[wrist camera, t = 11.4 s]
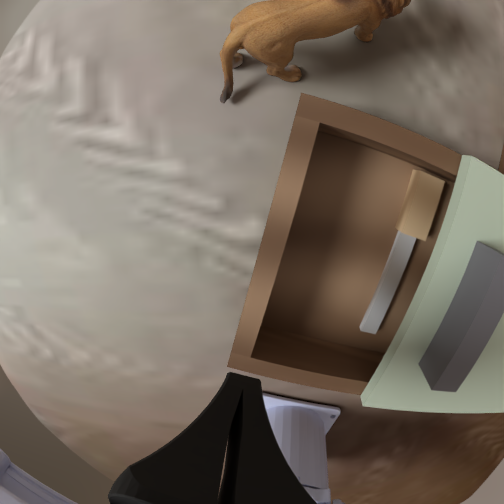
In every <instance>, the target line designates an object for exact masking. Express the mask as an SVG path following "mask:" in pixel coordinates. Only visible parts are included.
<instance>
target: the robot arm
mask: <svg viewBox="0 0 504 504" xmlns="http://www.w3.org/2000/svg"><path fill="white" fill-rule="evenodd" d="M340 413H341V411H340V408H338V407H333V406H327V405H321V404H315V403H309V402H304V401H299V400H294V399H289V398H284V397H279V396H275V395H270V394H266V393H262V387H261V381H260V380H259V379H256V378H252V377H248V376H244V375H240V374H236V373H232V372H229V373H227V376H226V378H225V380H224V382H223V384H222V386H221V388H220V389H219V391H218V392H217V394H216V395H215V397H214V398H213V399H212V401H211V402H210V403H209V405H208V406H207V407H206V408H205V409H204V410H203V412H202V413H201V414H200V415H199V416H198V417H197V418H196V419H195V420H194V421H193V422H192V423H191V424H190V425H189V426H188V427H187V428H186V429H185V430H184V431H182V432H181V433H180V434H179V435H178V436H176V437H175V438H174V439H173V440H171V441H170V442H169V443H167V444H166V445H164V446H163V447H161V448H160V449H158V450H157V451H155V452H154V453H152V454H151V455H149V456H147V457H145V458H143V459H142V460H140V461H138V462H136V463H134V464H132V465H130V466H129V467H128V468H127V469H126V470H125V471H124V472H123V473H122V474H121V475H120V476H119V477H118V478H117V479H116V481H115V482H114V484H113V486H112V488H111V490H110V492H109V494H108V498H109V501H110V504H331V497H330V489H329V487H328V469H327V453H326V439H325V435H326V434H327V432H328V431H329V430H330V428H331V427H332V425H333V424H334V422H335V421H336V419H337V418H338V416H339V415H340ZM228 435H229V436H228ZM227 441H228V444H227ZM226 446H227V453H226V461H225V469H224V475H223V479H222V484H221V488H220V492H219V487H220V481H221V475H222V469H223V463H224V457H225V452H226ZM218 494H219V496H218ZM0 504H77V503H75V502H74V501H72V500H70V499H68V498H66V497H64V496H62V495H61V494H59V493H57V492H56V491H54V490H52V489H51V488H49V487H47V486H46V485H44V484H43V483H41V482H39V481H38V480H36V479H35V478H33V477H32V476H30V475H28V474H27V473H26V472H24V471H23V470H22V469H20V468H19V467H17V466H16V465H15V464H13V463H12V462H11V461H10V459H9V457H8V456H7V455H6V454H5V453H4V452H3V451H2V450H1V449H0ZM333 504H345V503H344V502H342V501H341V500H340V499H334V500H333Z"/></svg>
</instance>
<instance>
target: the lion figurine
mask: <svg viewBox="0 0 504 504" xmlns="http://www.w3.org/2000/svg"><path fill="white" fill-rule="evenodd" d="M410 2H411V0H270V1H262V2H257V3H254V4H251V5H249V6H247V7H246V8H245V9H243V10H242V11H241V12H239V13H238V14H237V15H236V16H235V17H234V18H233V19H232V22H231V25H230V28H231V32H230V34H229V35H228V37H227V38H226V41H225V43H224V45H223V48H222V50H221V51H220V57H221V61H222V68H223V72H224V78H225V86H224V89H223V91H222V94H221V97H220V101H221V102H222V103H225V102H226V100H227V99H229V98H230V96H231V94H232V91H233V72H232V69H233V68H235V67H238V66H239V65H240V64H241V63H242V62H243V56H242V54H240V53H237V51H238V50H239V49H244V48H245V49H246V50H247V52H248V53H249V54H250V55H252V56H253V57H254V58H256V59H257V60H259V61H261V62H262V63H264V64H266V65H267V66H268V68H267V73H268V74H269V75H272V76H276V77H279V78H281V79H283V80H285V81H288V82H295V81H298V80H300V78H301V75H302V74H301V71H300V69H299V68H298V67H297V66H296V65H289V66H287V65H288V63H289V62H290V61H291V60H292V58H293V50H294V46H295V43H297V42H298V41H302V40H309V39H317V38H325V37H329V36H332V35H335V34H338V33H340V32H342V31H344V30H346V29H349V28H352V27H354V26H356V25H357V27H356V29H355V31H354V34H355V35H356V37H357V38H358V39H359V40H362V41H364V42H369V41H371V40H372V37H373V34H372V31H374V30H375V29H377V28H378V27H379V26H380V23H381V20H382V19H384V18H385V19H388V18H390V17H393V16H395V15H397V14H399V13H401V12H402V10H403V8H404V7H406V6H408V5H409V4H410Z"/></svg>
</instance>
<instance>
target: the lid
mask: <svg viewBox="0 0 504 504" xmlns="http://www.w3.org/2000/svg"><path fill="white" fill-rule="evenodd" d="M361 401H362V405H363V406H366V407H374V408H383V409H393V410H404V411H418V412H436V413H499V412H504V175H503V174H502V173H500V172H499V171H497V170H495V169H494V168H492V167H490V166H489V165H487V164H485V163H484V162H482V161H480V160H478V159H477V158H475V157H473V156H468V155H462V158H461V162H460V166H459V170H458V174H457V178H456V182H455V185H454V189H453V192H452V196H451V199H450V202H449V206H448V209H447V212H446V215H445V218H444V221H443V224H442V227H441V230H440V233H439V236H438V238H437V241H436V244H435V247H434V249H433V252H432V254H431V257H430V260H429V262H428V265H427V267H426V270H425V272H424V274H423V277H422V279H421V282H420V284H419V286H418V288H417V291H416V293H415V295H414V297H413V300H412V302H411V304H410V306H409V308H408V310H407V312H406V315H405V317H404V319H403V321H402V323H401V325H400V327H399V329H398V331H397V333H396V335H395V337H394V338H393V340H392V342H391V344H390V346H389V348H388V350H387V352H386V353H385V355H384V357H383V359H382V361H381V362H380V364H379V366H378V368H377V369H376V371H375V373H374V374H373V376H372V378H371V380H370V381H369V383H368V385H367V386H366V388H365V389H364V391H363V393H362V394H361Z"/></svg>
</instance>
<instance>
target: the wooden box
mask: <svg viewBox="0 0 504 504" xmlns="http://www.w3.org/2000/svg"><path fill="white" fill-rule="evenodd" d="M461 158H462V155H460V154H458V153H456V152H454V151H453V150H451V149H449V148H447V147H445V146H443V145H440V144H438V143H436V142H434V141H432V140H430V139H428V138H426V137H423V136H421V135H419V134H417V133H415V132H412V131H410V130H408V129H405V128H403V127H400V126H398V125H396V124H393V123H391V122H388V121H386V120H383V119H380V118H378V117H375V116H372V115H370V114H367V113H364V112H361V111H359V110H356V109H353V108H350V107H347V106H344V105H341V104H338V103H335V102H331V101H328V100H325V99H321V98H318V97H315V96H311V95H307V94H304V93H301V96H300V100H299V104H298V107H297V111H296V115H295V119H294V122H293V126H292V130H291V134H290V138H289V141H288V145H287V149H286V153H285V156H284V160H283V164H282V167H281V171H280V175H279V179H278V182H277V186H276V190H275V194H274V197H273V201H272V205H271V208H270V212H269V216H268V219H267V223H266V227H265V231H264V234H263V238H262V242H261V245H260V249H259V253H258V256H257V260H256V264H255V267H254V271H253V275H252V278H251V282H250V285H249V289H248V293H247V296H246V300H245V304H244V307H243V311H242V315H241V318H240V322H239V325H238V329H237V333H236V336H235V340H234V343H233V347H232V351H231V354H230V358H229V361H228V365H227V367H230V368H234V369H238V370H242V371H245V372H249V373H253V374H257V375H261V376H265V377H269V378H274V379H278V380H282V381H287V382H292V383H296V384H301V385H306V386H311V387H316V388H321V389H327V390H333V391H338V392H344V393H351V394H357V395H361V394H362V393H363V391H364V389H365V388H366V386H367V385H368V383H369V381H370V380H371V378H372V376H373V374H374V373H375V371H376V369H377V368H378V366H379V364H380V362H381V361H382V359H383V357H384V355H385V353H386V352H387V350H388V348H389V346H390V344H391V342H392V340H393V338H394V337H395V335H396V333H397V331H398V329H399V327H400V325H401V323H402V321H403V319H404V317H405V315H406V312H407V310H408V308H409V306H410V304H411V302H412V300H413V297H414V295H415V293H416V291H417V288H418V286H419V284H420V282H421V279H422V277H423V274H424V272H425V270H426V267H427V265H428V262H429V260H430V257H431V254H432V252H433V249H434V247H435V244H436V241H437V238H438V236H439V233H440V230H441V227H442V224H443V221H444V218H445V215H446V212H447V209H448V206H449V202H450V199H451V196H452V192H453V189H454V185H455V182H456V178H457V174H458V170H459V166H460V162H461ZM498 171H499V172H500V173H502V174H503V175H504V145H503V150H502V155H501V160H500V165H499V169H498Z"/></svg>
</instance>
